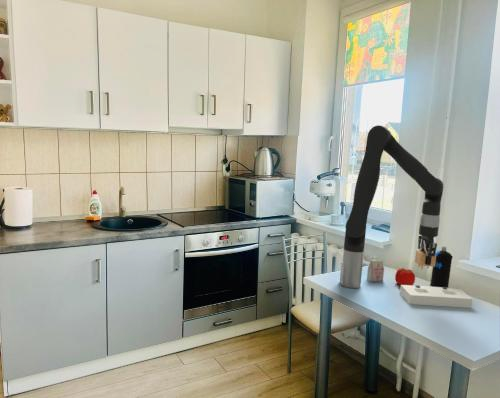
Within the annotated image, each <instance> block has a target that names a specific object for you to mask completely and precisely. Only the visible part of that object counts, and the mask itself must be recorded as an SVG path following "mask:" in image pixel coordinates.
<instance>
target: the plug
mask: <svg viewBox="0 0 500 398" xmlns="http://www.w3.org/2000/svg"><path fill="white" fill-rule="evenodd" d="M427 249H429V248H427ZM414 258H415V259H414V262H415V264H417V265H418V268H420V270H424V267H426V269H428V270H429V268H430V267H433V266H435V261H436V255H435V256H432V258H431V265H426V264H425V259H426V251H425V250H424V251H419V250H415V256H414Z"/></svg>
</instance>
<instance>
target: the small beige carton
mask: <svg viewBox="0 0 500 398" xmlns="http://www.w3.org/2000/svg"><path fill="white" fill-rule="evenodd" d="M384 274H385V267H384V261H383V260H382V259H381V260H371V261H370V263H369V264H368V267H367V273H366V280H367V281H369V282H371V283H372V282H383V281H384Z"/></svg>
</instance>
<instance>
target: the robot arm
mask: <svg viewBox="0 0 500 398" xmlns="http://www.w3.org/2000/svg"><path fill="white" fill-rule="evenodd" d="M364 151H365V152H364V156H363V159H362V161H361V165H360V168H359V172H358V174H357V178H356V182H355V183H356V184H355V188H354V194H353V202H352V207H351V211H350V214H349V217H348V219H347V220H346V222H345V233H344V244H343V255H342V262H341V263H340V264H341V265H340V275H339V276H340V277H339V283H340V285H341V287H346V288H352V289H358V288H360V287H361V283H362V276H363V275H362V273H363V262H364V253H365V244H366V243H365V242H366V234H367V233H366V232H367V221H368V217H369V216H368V215H369V211H370V208H371V205H372V203H373V200H374V197H375V194H376V192H377V188H378V185H379V181H380V174H381V160H382V156H383V152H385V153H386V154H388V155H389V156H390V157H391V158H392V159H393V160H394V161H395V162H396V163H397V165H398V166H399V167H400V168H401V169H402V170H403V171H404V172H405V174H407V175H408V176H409V177H411V178H412V180H413V181H415V182H416V183H417V184H418V186H419V187H420V188H421V189H422V190H423V191H424V200H423V202H422V203H423V204H422V209H421V216H420V220H419V229H418V234H419V235H418V239H417V241H418V242H417V248H418V251H424V250H425V251H426V259H425V264H426V265H431V258H432V256H435V253H436V252H437V246H438V244H437V242H435V238H437V237H438V236H439V228H440V221H441V220H440V219H441V217H440V214H441V204H442V203H441V202H442V197H443V193H444V192H443V191H444V183H443V181H442V180H441V179H440V178H439V177H435V176H434V175H433V174H432V173H431V172H430V171H429V170H428V168H427V167H426V166H425V165H424V164H423V163H422V162H421V161H419V159H417V158H416V157H414V155H412V154H411V153H410V152H409V151H407V150H406V148H404V147H403V146H402V145H401V144H400V143H399V141H398V140H397V139H396V138H395V136H393V134H392V132H391V131H390V129H388V128H387V127H386V126H383V125H375V126H372V127H371V128H370V129H369V131H368V132H367V137H366V143H365V149H364ZM427 248H428V249H427Z"/></svg>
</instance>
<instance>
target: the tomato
mask: <svg viewBox="0 0 500 398" xmlns="http://www.w3.org/2000/svg"><path fill="white" fill-rule="evenodd" d="M394 281H395V282H396V284H398V285H399V286H401V285H412V286H414V284H415V281H416V275H415V273H414V272H413V270H412V269H405V268H404V267H401V268H398V269H397V270H396V272H395V277H394Z"/></svg>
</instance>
